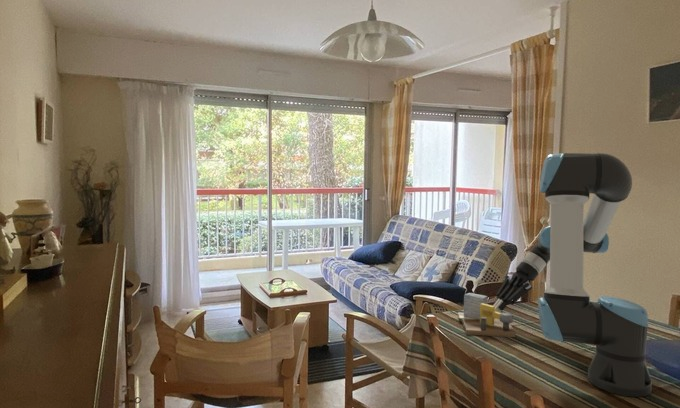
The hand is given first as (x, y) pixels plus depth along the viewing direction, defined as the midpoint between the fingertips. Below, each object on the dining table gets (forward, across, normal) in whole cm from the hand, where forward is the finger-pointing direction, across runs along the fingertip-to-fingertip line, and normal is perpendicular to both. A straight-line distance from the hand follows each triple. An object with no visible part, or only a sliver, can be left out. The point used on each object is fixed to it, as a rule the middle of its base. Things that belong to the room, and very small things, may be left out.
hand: (491, 314), depth 168 cm
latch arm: (+3, -4, -1) cm, 5 cm away
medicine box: (+4, +8, -1) cm, 9 cm away
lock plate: (+4, +2, -3) cm, 6 cm away
